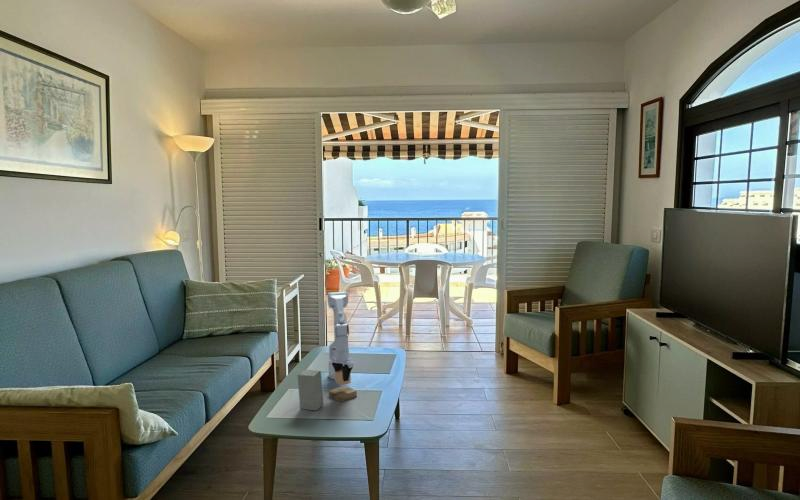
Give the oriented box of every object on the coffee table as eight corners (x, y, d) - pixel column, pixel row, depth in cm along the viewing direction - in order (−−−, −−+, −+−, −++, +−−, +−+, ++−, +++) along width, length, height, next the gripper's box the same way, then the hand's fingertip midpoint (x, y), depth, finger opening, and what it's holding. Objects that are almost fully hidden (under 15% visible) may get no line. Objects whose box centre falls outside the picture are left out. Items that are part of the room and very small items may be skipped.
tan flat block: (329, 396, 210) (329, 390, 210) (345, 391, 216) (345, 385, 216) (340, 402, 204) (340, 396, 203) (356, 397, 210) (356, 390, 209)
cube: (335, 382, 210) (335, 371, 209) (344, 379, 213) (344, 369, 213) (341, 385, 206) (341, 374, 206) (350, 382, 209) (350, 371, 209)
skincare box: (323, 405, 200) (322, 370, 199) (315, 412, 194) (314, 375, 192) (306, 402, 203) (305, 367, 202) (298, 409, 196) (296, 373, 195)
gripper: (325, 348, 211) (326, 376, 212) (343, 355, 200) (344, 385, 201) (338, 345, 215) (339, 373, 217) (356, 352, 205) (357, 381, 206)
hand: (342, 379), depth 209 cm, fingers closed on cube, 5 cm apart
